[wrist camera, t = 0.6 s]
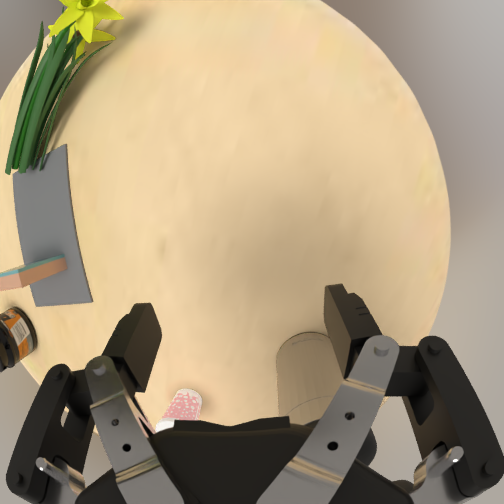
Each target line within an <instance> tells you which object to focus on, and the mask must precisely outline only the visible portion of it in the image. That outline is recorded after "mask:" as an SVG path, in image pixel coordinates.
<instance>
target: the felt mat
mask: <svg viewBox="0 0 504 504" xmlns="http://www.w3.org/2000/svg"><path fill="white" fill-rule="evenodd" d="M41 160H42V157H40V158H38V159H37V161H36V164H35V168H34V170H32V167H33V165H32V166H31V165H30V166H29V168H28V169H26V173H22V174H20V173H19V172H18V171H17V172H15V173H14V174H13V189H14V202H15V211H16V219H17V227H18V233H19V239H20V245H21V250H22V255H23V260H24V264H27V263H30V262H33V261H37V260H41V259H45V258H49V257H53V256H58V255H62V254H64V255H65V260H66V264H67V268H68V269H66V270H64V271H61V272H59V273H56V274H54V275H51V276H49V277H46V278H44V279H41V280H39V281H37V282H34V283H32V284H30V288H31V292H32V295H33V298H34V302H35V305H36V307H40V306H54V305H68V304H80V303H92V302H93V299H92V296H91V293H90V289H89V285H88V282H87V278H86V274H85V270H84V266H83V261H82V257H81V253H80V248H79V243H78V238H77V232H76V227H75V221H74V215H73V208H72V201H71V192H70V183H69V172H68V158H67V144H64V145H62V146H60V147H58V148H57V149H55V150H53V151H51V152H49V153H47V154H45V157H44V161H43V166H42V170H41V171H39V169H40V164H41ZM33 163H34V161H33Z"/></svg>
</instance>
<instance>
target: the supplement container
mask: <svg viewBox="0 0 504 504" xmlns="http://www.w3.org/2000/svg"><path fill="white" fill-rule="evenodd" d="M35 347H36V336H35V332H34V330H33V327H32V325H31V323H30V321H29V320H28V318H27V317H26V316H25V314H24V313H23V312H22V311H20V310H19V309H17V308H11V309H9V310H7V311H5V312H4V313H2V314H0V372H2V371H4V370H5V369H6V368H7V367H8V368H11V367H13V366H15V364H16V363H17V362H19V361H20V360H22V359H23V358H24V357H26V356H27V355H28V354H30V353H32V352H33V351H34V350H35Z"/></svg>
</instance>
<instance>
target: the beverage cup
mask: <svg viewBox="0 0 504 504" xmlns="http://www.w3.org/2000/svg"><path fill="white" fill-rule="evenodd" d="M201 405H202V398H201V396H200V395H199V394H198V393H197V392H195V391H194V390H191V389H181V390H179V391H178V392H177V393H176V395H175V396H174V398H173V400H172V402H171V403H170V405H169V407H168V409H167V410H166V412H165V414H164V416H163V417H162V419H161V420H160V421H158V423H157V424H156V432H159V431H161V430H164V429H167V428H171V427H173V426H174V420H198V419H199V414H200V410H201Z"/></svg>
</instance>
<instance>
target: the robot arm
mask: <svg viewBox="0 0 504 504" xmlns="http://www.w3.org/2000/svg"><path fill="white" fill-rule="evenodd" d="M324 322H325V326H326V329H327V332H328V335H329V338H328V337H327V336H325V335H322V334H319V333H303V334H299V335H297V336H294V337H292V338H291V339H289V340H288V341H286V342H285V343H284V344H283V345H282V347H281V348H280V350H279V352H278V355H277V360H276V364H277V386H278V407H279V417H273V418H262V419H257V420H253V421H250V422H246V423H242V424H239V425H235V426H224V425H219V424H214V423H210V422H206V421H201V420H174V426H173V427H171V428H167V429H164V430H161V431H159V432H157V433H156V432H155V430H154V429H153V427H152V425H151V424H150V422H149V420H148V418H147V416H146V415H145V413H144V411H143V409H142V407H141V405H140V404H139V402H138V400H137V398H136V397H135V392H144V393H145V390H146V387H147V384H148V380H149V377H150V374H151V371H152V367H153V364H154V361H155V358H156V355H157V352H158V349H159V345H160V342H161V339H162V332H161V327H160V325H159V322H158V319H157V317H156V314H155V311H154V309H153V306H152V304H151V303H136V304H134V306H133V307H132V309H131V311H130V313H129V314H126V315H125V316H124V317H123V318H122V319H121V320H120V321H119V322H118V324H117V326H116V328H115V330H114V332H113V334H112V336H111V338H110V339H109V341H108V343H107V345H106V347H105V349H104V351H103V353H102V355H101V356H98V357H95V358H93V359H92V360H90V361H89V362H88V363H87V365H86V367H85V369H83V370H78V371H71V370H70V369H69V367H68V366H67V365H65V364H58V365H55V366H53V367H52V368H51V369H50V370H49V371H48V372H47V374H46V376H45V378H44V380H43V382H42V384H41V386H40V388H39V391H38V393H37V395H36V397H35V399H34V401H33V403H32V406H31V408H30V410H29V412H28V415H27V417H26V420H25V422H24V425H23V427H22V430H21V432H20V435H19V437H18V440H17V443H16V446H15V448H14V451H13V454H12V457H11V460H10V463H9V467H8V470H7V474H6V482H7V486H8V488H9V489H10V490H11V492H12V493H14V494H16V495H17V496H19V497H21V498H23V499H24V500H26V501H28V502H30V503H32V504H463V503H465V502H467V501H469V500H471V499H473V498H475V497H477V496H478V495H480V494H481V493H483V492H484V491H486V490H487V489H489V488H491V487H492V486H494V485H496V484H497V483H498V482H499V481H500V479H501V478H502V476H503V474H504V456H503V453H502V450H501V448H500V445H499V443H498V440H497V438H496V435H495V433H494V431H493V428H492V426H491V424H490V421H489V419H488V417H487V415H486V413H485V411H484V409H483V406H482V404H481V402H480V401H479V399H478V397H477V394H476V392H475V391H474V389H473V387H472V385H471V383H470V381H469V379H468V378H467V376H466V374H465V372H464V370H463V369H462V367H461V365H460V363H459V362H458V360H457V358H456V357H455V355H454V353H453V352H452V350H451V348H450V347H449V345H448V344H447V342H446V341H445V340H443V339H442V338H440V337H437V336H427V337H424V338H423V339H421V341H420V342H419V345H418V346H399V345H398V344H397V342H396V341H395V340H394V339H392V338H390V337H388V336H384V335H382V333H381V331H380V329H379V327H378V326H377V324H376V322H375V320H374V319H373V317H372V315H371V314H370V312H369V310H368V308H367V307H366V305H365V303H364V301H363V299H362V298H360V297H359V296H358V295H356V294H355V293H350V294H348V293H347V291H346V290H345V288H344V286H343V284H335V285H328V286H326V287H325V297H324ZM384 396H402V399H403V401H404V404H405V407H406V410H407V413H408V416H409V419H410V422H411V425H412V428H413V431H414V434H415V437H416V441H417V444H418V447H419V451H420V454H421V457H422V462H420V463H419V465H418V466H417V467H416V469H415V472H414V484H412V483H411V482H409V481H406V480H397V481H393V482H392V481H390V480H388V479H386V478H385V477H383V476H382V475H380V474H379V473H377V472H376V471H374V470H373V469H371V468H370V467H368V465H369V464H370V463H371V462H372V460H373V459H374V457H375V454H376V451H377V443H376V440H375V436H374V434H373V432H372V429H371V426H372V423H373V421H374V419H375V417H376V414H377V412H378V410H379V407H380V405H381V403H382V400H383V398H384ZM65 406H66V407H67V408H68V409H69V412H68V415H67V418H66V421H65V423H64V427H62V425H61V416H62V413H63V411H64V408H65ZM95 425H96V428H97V430H98V433H99V436H100V438H101V441H102V444H103V446H104V449H105V451H106V453H107V456H108V458H109V460H110V463H111V465H112V467H113V468H111V469H110V470H109V471H108V472H106V473H105V474H104V475H102V476H101V477H100V478H99V479H97V480H96V481H95V482H93V483H92V484H91V485H89V486H88V487H87V486H86V485H85V481H84V478H83V476H82V473H83V469H84V464H85V460H86V456H87V451H88V448H89V444H90V440H91V436H92V433H93V429H94V426H95Z"/></svg>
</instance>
